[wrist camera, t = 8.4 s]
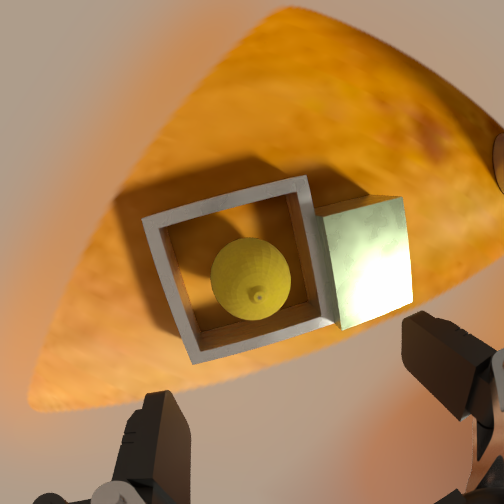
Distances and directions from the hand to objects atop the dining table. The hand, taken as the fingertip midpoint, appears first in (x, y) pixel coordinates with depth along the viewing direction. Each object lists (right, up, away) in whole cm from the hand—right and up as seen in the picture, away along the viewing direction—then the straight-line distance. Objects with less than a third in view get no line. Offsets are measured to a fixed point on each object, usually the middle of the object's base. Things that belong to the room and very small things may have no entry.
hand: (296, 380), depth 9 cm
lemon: (-2, +3, +16) cm, 17 cm away
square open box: (+1, +4, +16) cm, 17 cm away
